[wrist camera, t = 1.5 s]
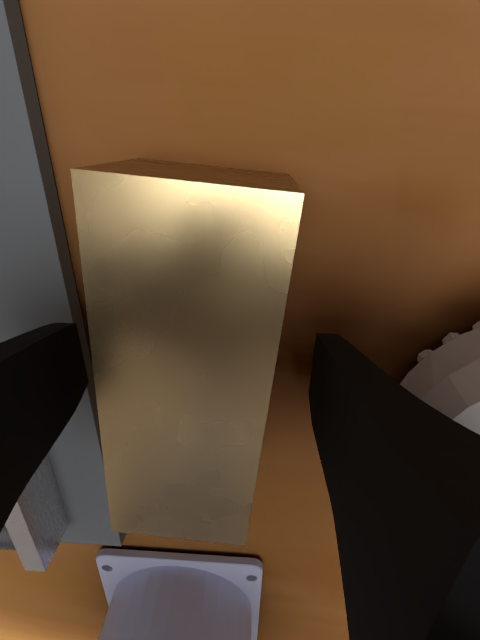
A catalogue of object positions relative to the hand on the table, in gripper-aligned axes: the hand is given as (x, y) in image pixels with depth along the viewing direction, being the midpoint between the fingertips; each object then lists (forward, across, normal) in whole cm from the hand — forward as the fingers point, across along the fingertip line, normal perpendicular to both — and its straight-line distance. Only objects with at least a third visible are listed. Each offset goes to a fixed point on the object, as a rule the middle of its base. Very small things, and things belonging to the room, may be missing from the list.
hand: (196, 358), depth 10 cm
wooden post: (+2, 0, 0) cm, 2 cm away
